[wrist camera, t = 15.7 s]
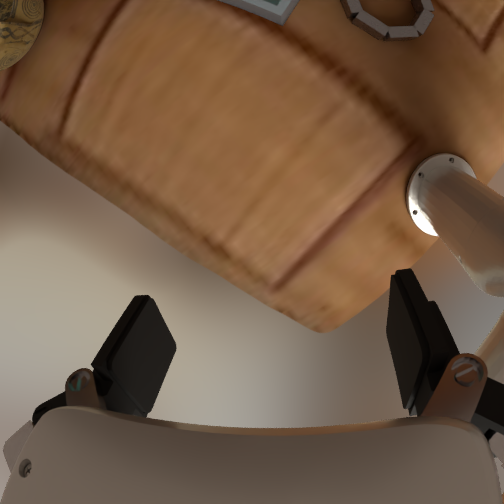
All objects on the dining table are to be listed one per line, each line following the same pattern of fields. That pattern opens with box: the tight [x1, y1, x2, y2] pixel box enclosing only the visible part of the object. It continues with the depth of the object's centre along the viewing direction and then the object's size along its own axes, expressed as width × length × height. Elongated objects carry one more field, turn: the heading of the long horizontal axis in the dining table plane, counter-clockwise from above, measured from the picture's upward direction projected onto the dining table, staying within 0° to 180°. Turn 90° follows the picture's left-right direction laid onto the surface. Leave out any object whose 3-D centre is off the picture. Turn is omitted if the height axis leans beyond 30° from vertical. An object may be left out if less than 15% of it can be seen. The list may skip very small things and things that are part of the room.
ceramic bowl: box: [0, 0, 44, 71], centre depth 21 cm, size 22×17×15 cm
